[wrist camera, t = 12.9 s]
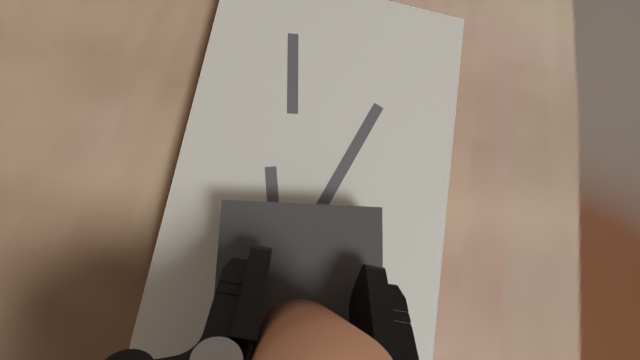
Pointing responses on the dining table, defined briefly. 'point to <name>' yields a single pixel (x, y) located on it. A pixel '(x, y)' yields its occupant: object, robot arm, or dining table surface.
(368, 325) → the robot arm
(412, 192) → the marked board
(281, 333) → the sanding block
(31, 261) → the dining table surface
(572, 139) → the dining table surface
